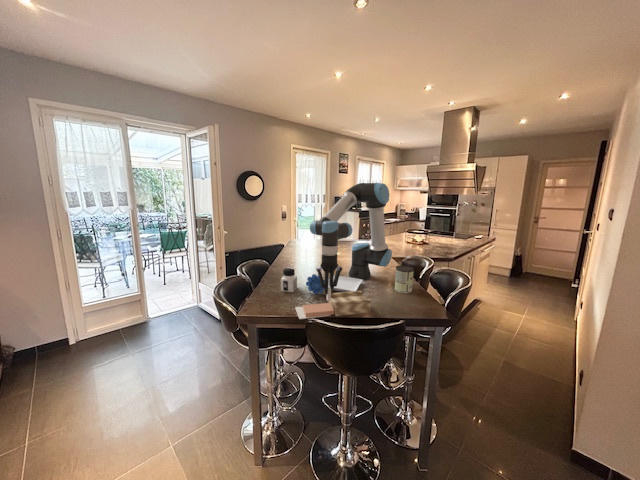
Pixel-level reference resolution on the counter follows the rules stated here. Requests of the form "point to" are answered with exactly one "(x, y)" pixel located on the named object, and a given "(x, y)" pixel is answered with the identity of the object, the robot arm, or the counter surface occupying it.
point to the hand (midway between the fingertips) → (328, 299)
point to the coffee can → (404, 279)
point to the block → (318, 309)
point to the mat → (302, 315)
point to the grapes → (314, 284)
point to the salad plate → (346, 284)
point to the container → (288, 280)
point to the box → (350, 303)
